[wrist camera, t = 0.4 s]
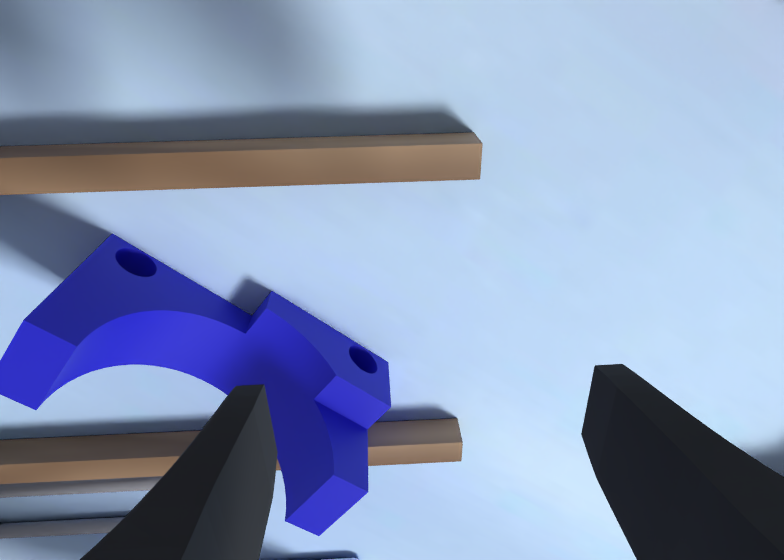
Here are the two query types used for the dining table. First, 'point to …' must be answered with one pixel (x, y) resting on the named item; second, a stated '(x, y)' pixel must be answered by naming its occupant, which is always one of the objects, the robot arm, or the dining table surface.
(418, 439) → the guide lane
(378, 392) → the cable clip
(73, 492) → the cord loop
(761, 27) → the dining table surface
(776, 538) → the robot arm
